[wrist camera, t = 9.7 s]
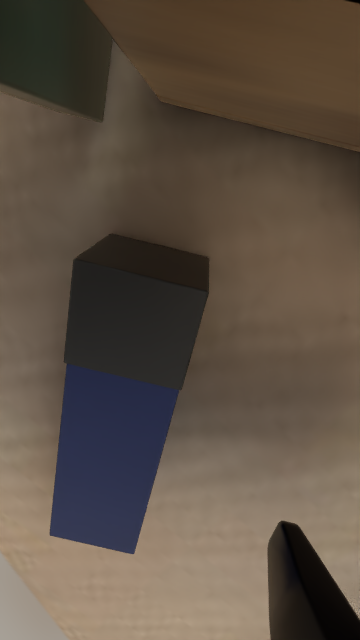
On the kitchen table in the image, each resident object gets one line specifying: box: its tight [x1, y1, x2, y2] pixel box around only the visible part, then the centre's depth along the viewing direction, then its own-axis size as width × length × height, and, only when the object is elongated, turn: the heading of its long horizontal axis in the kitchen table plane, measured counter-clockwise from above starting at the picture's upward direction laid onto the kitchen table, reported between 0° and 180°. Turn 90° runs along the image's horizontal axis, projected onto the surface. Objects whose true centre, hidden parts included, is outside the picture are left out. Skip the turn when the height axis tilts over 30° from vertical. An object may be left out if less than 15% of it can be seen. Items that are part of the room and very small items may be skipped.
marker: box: [50, 234, 209, 554], centre depth 11 cm, size 10×3×3 cm, turn 167°
